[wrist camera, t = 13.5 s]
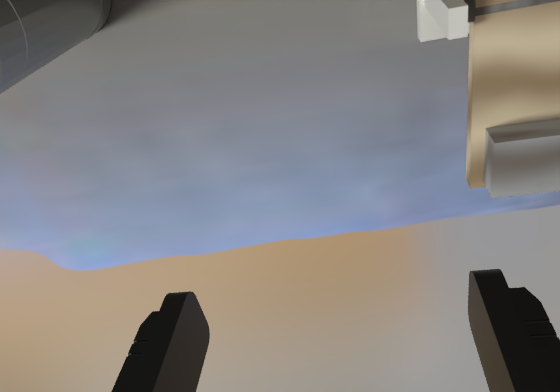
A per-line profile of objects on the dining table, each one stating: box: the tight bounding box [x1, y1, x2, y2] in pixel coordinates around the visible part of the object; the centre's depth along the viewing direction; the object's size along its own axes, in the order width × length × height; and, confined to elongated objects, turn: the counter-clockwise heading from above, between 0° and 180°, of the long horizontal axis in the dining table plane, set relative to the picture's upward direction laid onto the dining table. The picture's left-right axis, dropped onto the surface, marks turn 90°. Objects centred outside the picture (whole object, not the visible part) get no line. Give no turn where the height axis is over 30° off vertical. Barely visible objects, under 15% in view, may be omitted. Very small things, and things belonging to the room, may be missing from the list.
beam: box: [464, 0, 560, 198], centre depth 30 cm, size 29×9×4 cm, turn 12°
